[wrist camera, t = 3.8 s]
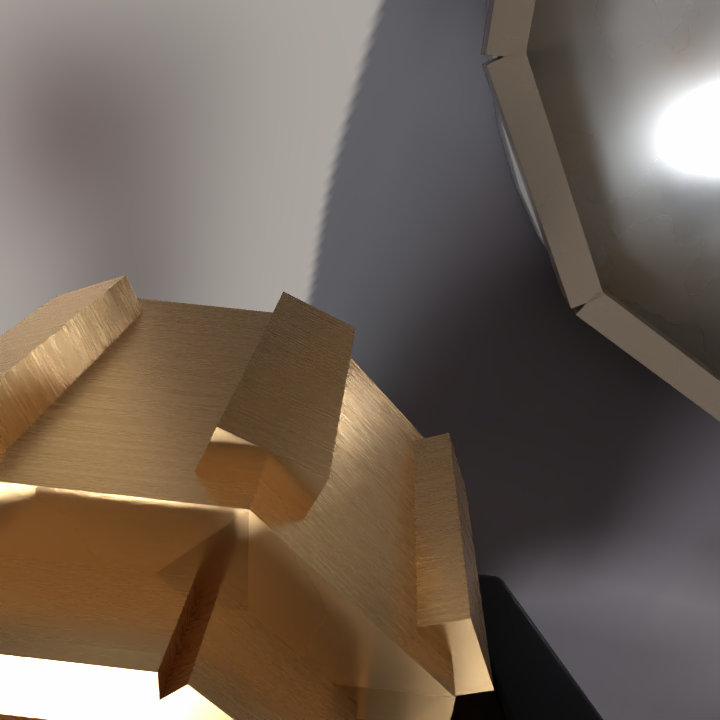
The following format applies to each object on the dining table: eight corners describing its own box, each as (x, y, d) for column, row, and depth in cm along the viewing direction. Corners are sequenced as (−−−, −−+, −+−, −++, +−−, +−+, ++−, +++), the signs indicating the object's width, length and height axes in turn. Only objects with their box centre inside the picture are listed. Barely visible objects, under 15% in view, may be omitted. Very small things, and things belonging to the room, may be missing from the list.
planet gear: (422, 683, 10) (433, 1065, 6) (19, 637, 10) (-208, 984, 7) (498, 303, 7) (600, 589, 3) (-68, 243, 7) (-576, 455, 4)
